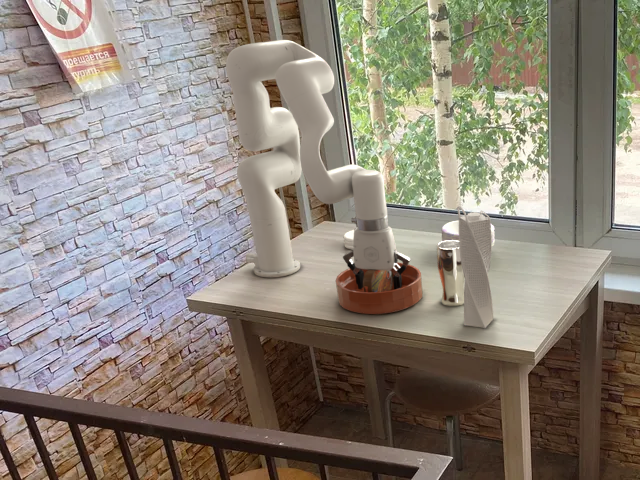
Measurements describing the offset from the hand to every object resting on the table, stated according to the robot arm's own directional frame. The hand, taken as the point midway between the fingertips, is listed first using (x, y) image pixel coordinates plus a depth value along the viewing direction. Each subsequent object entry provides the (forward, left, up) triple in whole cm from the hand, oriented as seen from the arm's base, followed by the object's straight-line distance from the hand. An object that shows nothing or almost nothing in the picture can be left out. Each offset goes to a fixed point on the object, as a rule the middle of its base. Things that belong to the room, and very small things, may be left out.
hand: (379, 288), depth 200 cm
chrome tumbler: (+19, +1, -3) cm, 19 cm away
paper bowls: (+14, +36, -3) cm, 39 cm away
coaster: (-20, +38, -3) cm, 43 cm away
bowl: (0, 0, -3) cm, 3 cm away
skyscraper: (+28, -10, -3) cm, 30 cm away
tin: (0, 0, -2) cm, 2 cm away
